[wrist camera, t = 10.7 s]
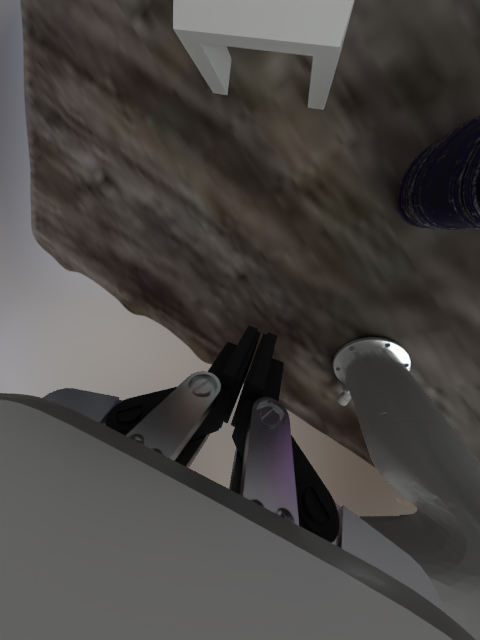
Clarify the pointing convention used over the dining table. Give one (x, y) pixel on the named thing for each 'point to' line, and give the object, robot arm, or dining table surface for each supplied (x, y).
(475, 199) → the storage jar
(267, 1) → the bridge
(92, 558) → the robot arm
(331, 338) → the dining table surface
